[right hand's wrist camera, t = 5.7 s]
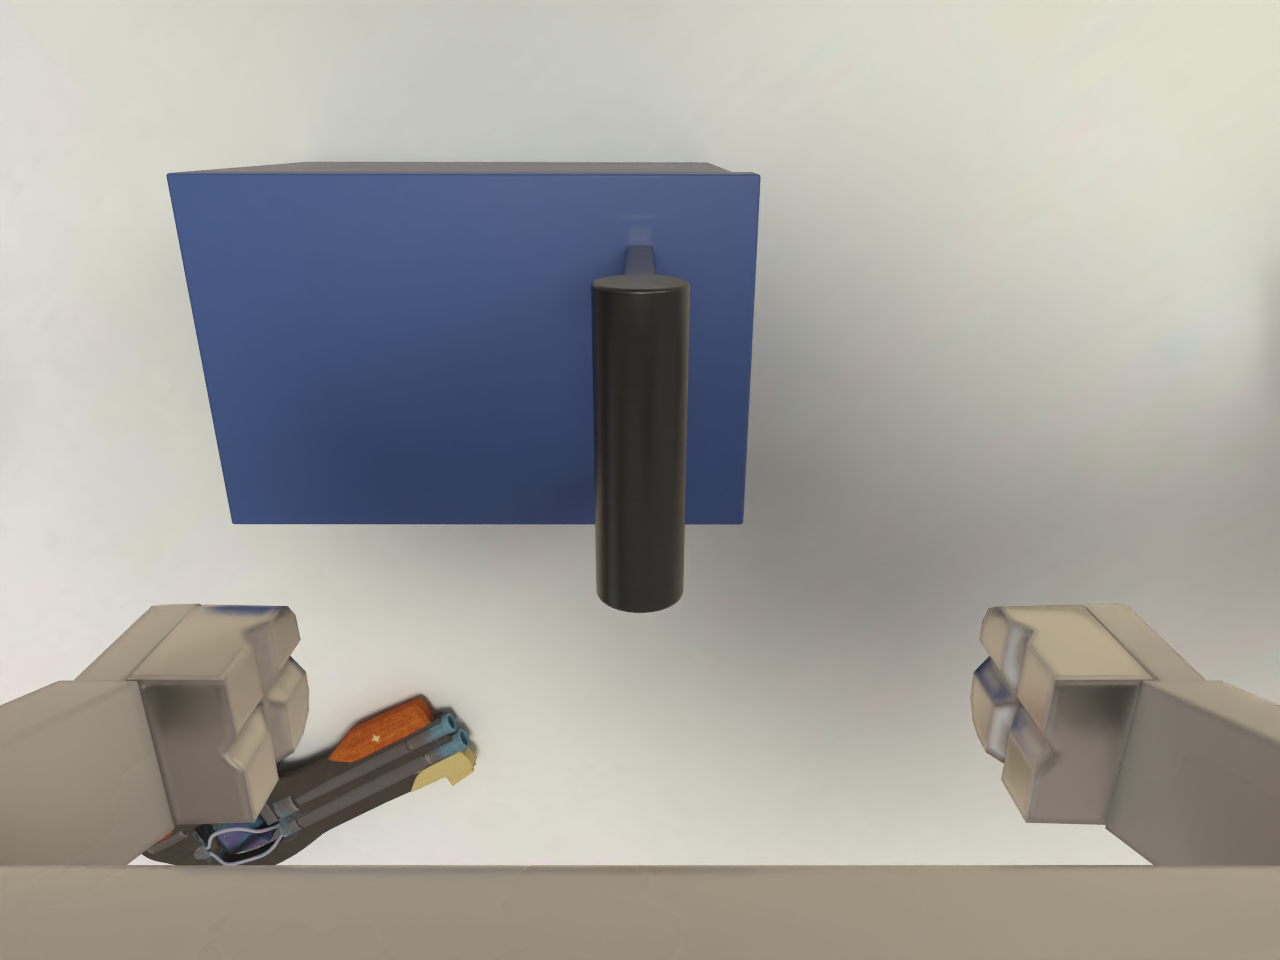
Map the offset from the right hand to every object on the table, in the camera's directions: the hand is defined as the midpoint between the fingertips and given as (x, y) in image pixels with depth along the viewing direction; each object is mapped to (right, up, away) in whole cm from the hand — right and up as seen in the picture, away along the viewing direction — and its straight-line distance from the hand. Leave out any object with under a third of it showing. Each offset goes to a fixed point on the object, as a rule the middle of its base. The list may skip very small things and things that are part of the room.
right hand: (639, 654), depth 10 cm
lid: (-5, +6, +15) cm, 17 cm away
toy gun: (-18, -11, +31) cm, 37 cm away
